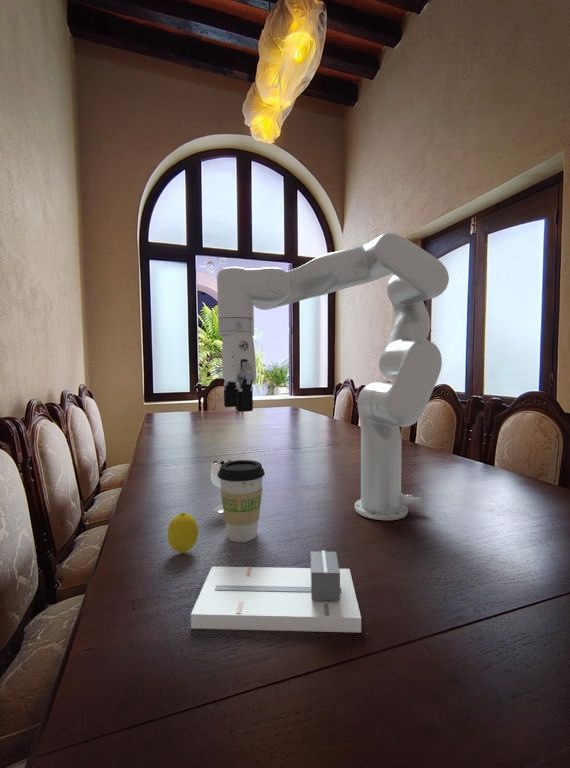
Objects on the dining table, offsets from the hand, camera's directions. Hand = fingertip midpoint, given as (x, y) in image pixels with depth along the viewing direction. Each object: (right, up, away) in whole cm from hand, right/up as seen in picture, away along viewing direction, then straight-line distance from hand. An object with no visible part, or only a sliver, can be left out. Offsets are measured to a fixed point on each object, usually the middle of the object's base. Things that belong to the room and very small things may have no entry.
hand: (237, 408), depth 79 cm
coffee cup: (+1, -27, -1) cm, 27 cm away
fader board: (+9, -28, -23) cm, 37 cm away
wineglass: (-5, -26, +13) cm, 30 cm away
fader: (+16, -25, -24) cm, 38 cm away
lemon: (-9, -27, -8) cm, 30 cm away
